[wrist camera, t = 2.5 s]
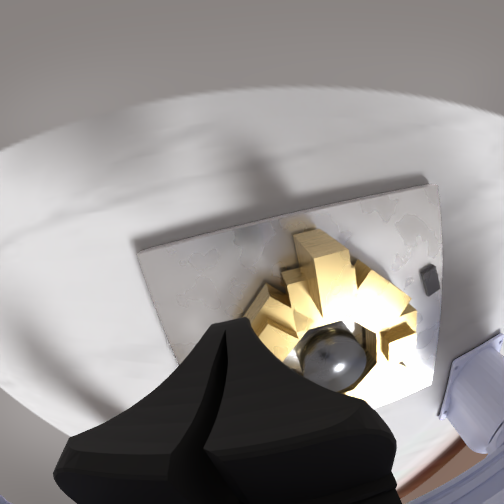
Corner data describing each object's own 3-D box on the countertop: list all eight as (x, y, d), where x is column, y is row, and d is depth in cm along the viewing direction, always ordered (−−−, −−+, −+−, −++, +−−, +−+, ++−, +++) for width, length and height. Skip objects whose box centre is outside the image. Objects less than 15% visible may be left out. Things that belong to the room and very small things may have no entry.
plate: (426, 378, 23) (446, 403, 19) (220, 437, 23) (219, 472, 19) (429, 183, 18) (465, 189, 14) (141, 250, 18) (119, 270, 14)
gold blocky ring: (399, 380, 20) (424, 415, 16) (257, 422, 21) (262, 467, 16) (396, 210, 17) (440, 224, 12) (203, 256, 17) (192, 287, 12)
